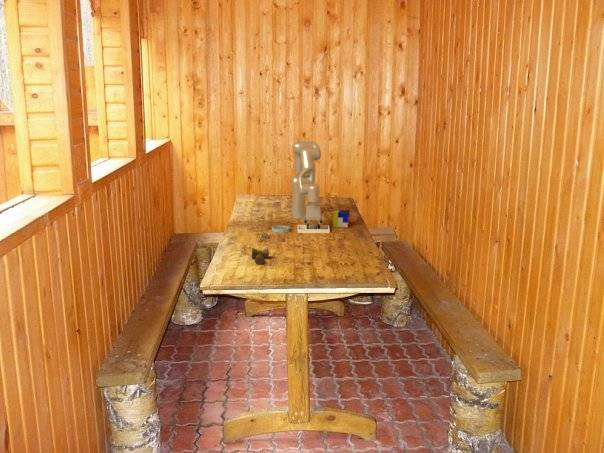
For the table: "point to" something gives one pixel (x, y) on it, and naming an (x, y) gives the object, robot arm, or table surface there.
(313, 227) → the ball
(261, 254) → the kendama
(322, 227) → the white rectangular frame
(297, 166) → the robot arm
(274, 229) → the bowl
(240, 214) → the table surface
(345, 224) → the puzzle toy
